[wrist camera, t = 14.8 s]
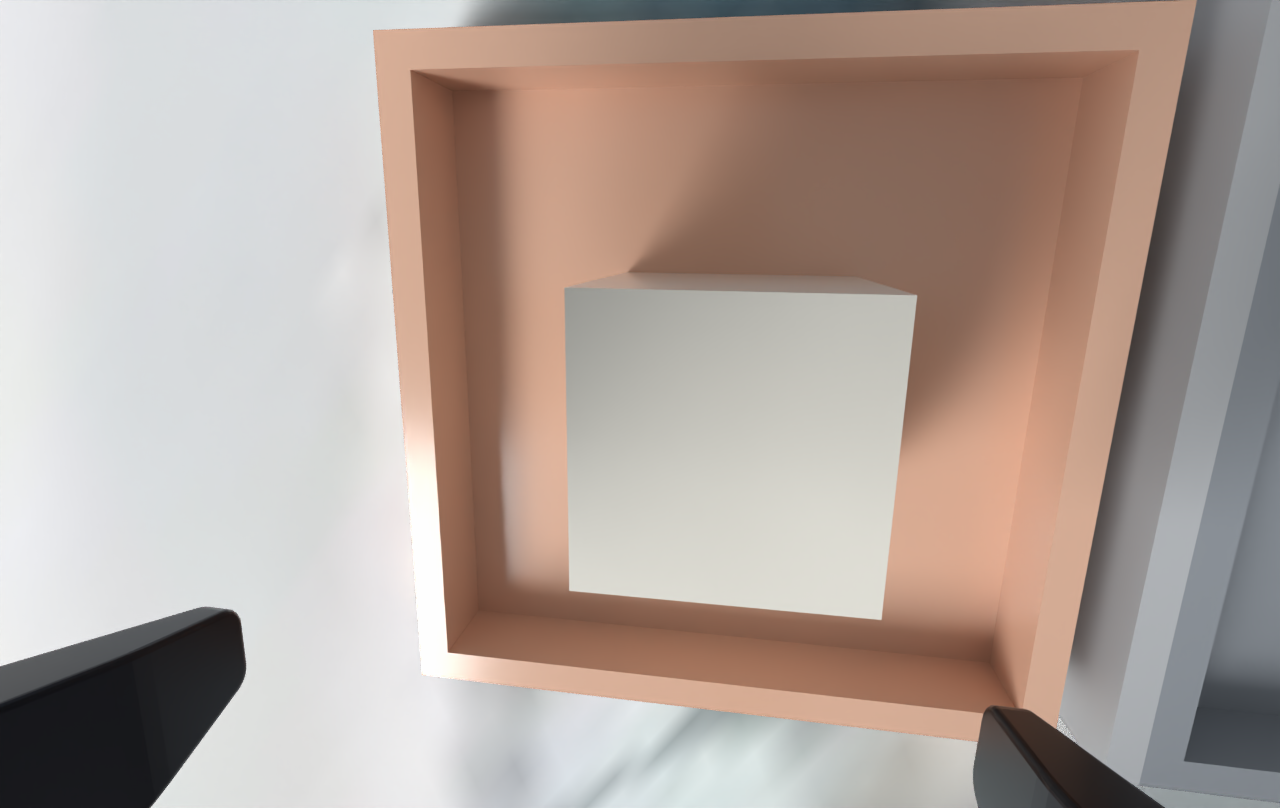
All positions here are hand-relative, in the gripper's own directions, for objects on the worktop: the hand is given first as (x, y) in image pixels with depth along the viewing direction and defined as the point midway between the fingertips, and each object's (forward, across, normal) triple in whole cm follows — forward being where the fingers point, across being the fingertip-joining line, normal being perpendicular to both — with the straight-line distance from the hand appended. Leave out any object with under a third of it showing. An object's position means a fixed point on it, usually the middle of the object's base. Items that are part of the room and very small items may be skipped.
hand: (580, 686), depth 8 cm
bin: (+7, -2, -2) cm, 7 cm away
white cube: (+6, -2, -2) cm, 7 cm away
